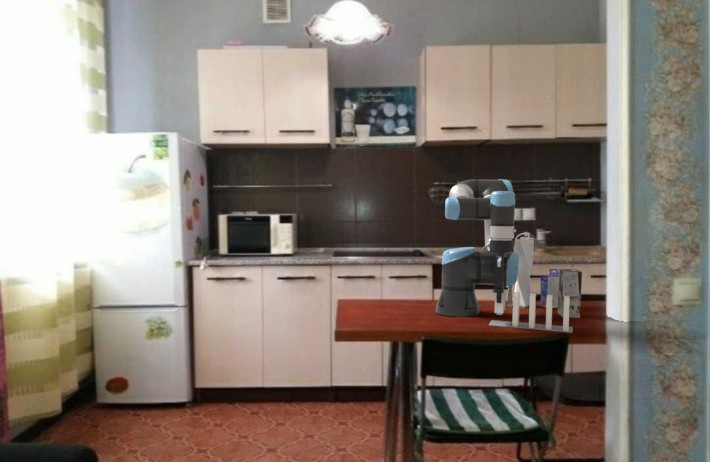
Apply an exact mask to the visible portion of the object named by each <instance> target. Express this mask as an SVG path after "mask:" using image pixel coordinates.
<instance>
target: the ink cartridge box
mask: <svg viewBox="0 0 710 462" xmlns="http://www.w3.org/2000/svg"><path fill="white" fill-rule="evenodd" d="M548 271H549V274H541V275H540V307H543V308H545V309H546V304H547V295H553V298H552V309H558V280H559V269H558V268H548ZM552 271H555V272H552Z"/></svg>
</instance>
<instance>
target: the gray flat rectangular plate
mask: <svg viewBox="0 0 710 462" xmlns="http://www.w3.org/2000/svg"><path fill="white" fill-rule="evenodd" d="M488 326H492V327H496V326H497V327H506V328H514V329H516V328H517V329H529V330H538V331H539V330H540V331H548V332H549V331H550V332H560V333H561V332H562V333H571V334H572V333H573V331H574V329H573V326H569V331H563V325H554V324H552V327H551V330H550V329H546V324H541V323H535V327H534V328H529V322H528V323H527V322H519V324H518V327H516V326H512V321H504V320H494V319H491V320H490V322H489V324H488ZM573 334H574V333H573Z"/></svg>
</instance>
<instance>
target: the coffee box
mask: <svg viewBox="0 0 710 462" xmlns="http://www.w3.org/2000/svg"><path fill="white" fill-rule="evenodd" d="M558 272H559V280H558V308H557V313H558V315H559V316H560V317H562V318H563V313H564V296H570V303H569V318H572V319H573V318H574V319H580V318H581V307H582V305H581V304H582V281H583V280H582V279H583V271H581V270H579V269H577V268H575V269H574V268H558Z"/></svg>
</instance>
